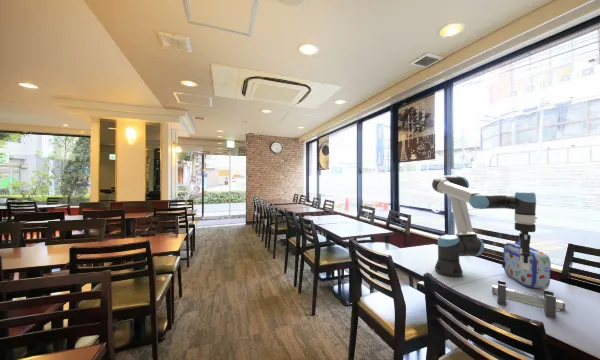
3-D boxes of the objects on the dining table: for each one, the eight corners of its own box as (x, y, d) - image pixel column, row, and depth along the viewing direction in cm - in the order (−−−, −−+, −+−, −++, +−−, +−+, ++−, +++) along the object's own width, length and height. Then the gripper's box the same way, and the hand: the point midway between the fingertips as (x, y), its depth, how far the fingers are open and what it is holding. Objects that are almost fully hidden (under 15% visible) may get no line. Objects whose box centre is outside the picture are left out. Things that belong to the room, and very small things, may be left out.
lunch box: (498, 271, 152) (498, 238, 151) (517, 273, 149) (517, 238, 149) (531, 291, 125) (531, 250, 125) (554, 293, 123) (554, 251, 123)
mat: (496, 296, 120) (496, 295, 120) (496, 291, 125) (496, 290, 125) (560, 311, 106) (560, 310, 106) (557, 305, 111) (557, 304, 111)
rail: (492, 292, 123) (492, 286, 123) (492, 290, 125) (492, 284, 125) (565, 310, 106) (565, 303, 106) (563, 307, 108) (563, 301, 108)
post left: (497, 304, 112) (497, 284, 112) (497, 298, 117) (497, 279, 117) (506, 306, 110) (506, 286, 110) (505, 300, 115) (505, 281, 115)
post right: (545, 316, 102) (545, 294, 102) (543, 310, 107) (543, 289, 107) (555, 319, 100) (555, 297, 100) (553, 312, 105) (553, 291, 105)
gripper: (538, 228, 104) (537, 275, 104) (533, 220, 123) (532, 260, 123) (515, 225, 109) (515, 270, 109) (513, 218, 128) (513, 257, 128)
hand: (524, 265), depth 116 cm, fingers open, 13 cm apart
